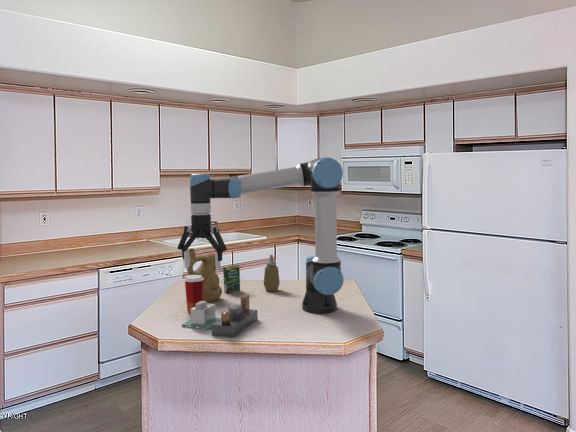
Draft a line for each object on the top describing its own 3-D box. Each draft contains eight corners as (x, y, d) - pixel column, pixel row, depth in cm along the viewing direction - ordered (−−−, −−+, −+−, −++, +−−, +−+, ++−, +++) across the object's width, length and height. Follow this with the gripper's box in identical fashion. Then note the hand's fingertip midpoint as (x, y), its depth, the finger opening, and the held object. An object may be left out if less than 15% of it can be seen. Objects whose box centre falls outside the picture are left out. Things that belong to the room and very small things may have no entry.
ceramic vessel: (231, 297, 229) (230, 245, 226) (202, 307, 213) (200, 251, 210) (204, 292, 238) (203, 242, 236) (174, 302, 222) (173, 248, 220)
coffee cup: (205, 308, 212) (204, 274, 211) (202, 313, 204) (202, 278, 202) (186, 308, 212) (185, 274, 210) (182, 313, 204) (181, 278, 202)
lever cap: (215, 318, 194) (215, 299, 193) (204, 325, 185) (204, 305, 185) (202, 317, 196) (201, 298, 195) (190, 324, 187) (190, 303, 187)
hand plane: (257, 319, 195) (257, 295, 194) (234, 337, 174) (233, 310, 173) (237, 317, 198) (236, 293, 197) (211, 335, 177) (211, 308, 176)
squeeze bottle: (270, 287, 248) (270, 253, 246) (283, 290, 243) (282, 254, 241) (260, 290, 242) (259, 255, 240) (272, 293, 236) (272, 257, 235)
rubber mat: (223, 320, 194) (223, 318, 194) (209, 329, 183) (209, 327, 183) (197, 317, 198) (197, 315, 198) (181, 326, 187) (181, 324, 187)
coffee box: (226, 293, 237) (225, 267, 236) (223, 292, 239) (222, 266, 238) (240, 291, 241) (240, 265, 240) (237, 289, 244) (237, 264, 243)
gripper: (234, 213, 186) (235, 268, 188) (177, 212, 194) (179, 264, 196) (225, 215, 179) (227, 272, 181) (167, 214, 187) (169, 268, 189)
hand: (202, 268), depth 189 cm, fingers open, 13 cm apart
